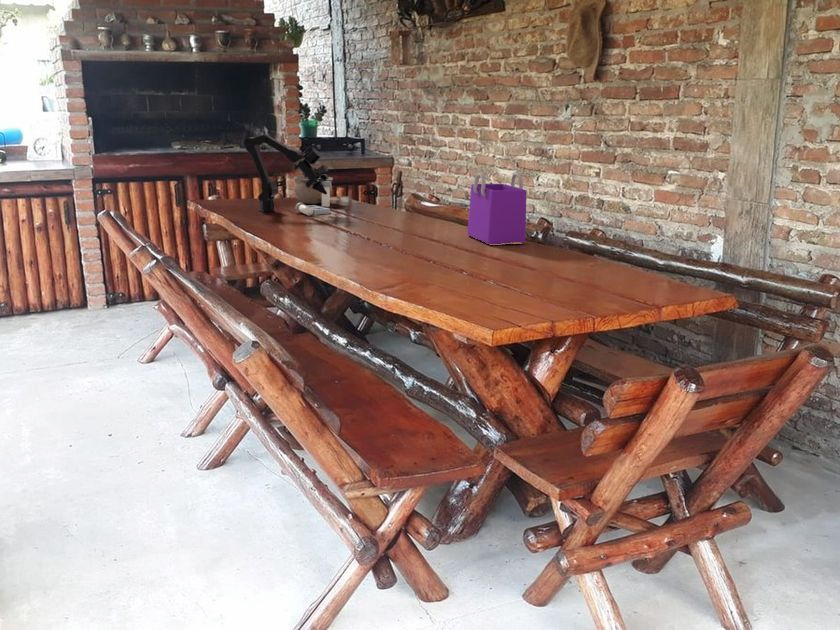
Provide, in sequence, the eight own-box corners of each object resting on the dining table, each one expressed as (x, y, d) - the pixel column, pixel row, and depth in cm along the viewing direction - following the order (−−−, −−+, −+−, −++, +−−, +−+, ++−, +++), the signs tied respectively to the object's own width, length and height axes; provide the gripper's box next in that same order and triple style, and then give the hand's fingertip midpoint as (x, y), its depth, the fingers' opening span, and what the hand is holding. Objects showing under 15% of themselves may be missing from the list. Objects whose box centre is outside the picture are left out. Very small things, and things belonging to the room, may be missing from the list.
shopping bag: (457, 237, 372) (460, 170, 364) (497, 234, 383) (500, 169, 375) (493, 247, 349) (497, 176, 341) (534, 244, 359) (539, 175, 352)
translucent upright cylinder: (324, 207, 421) (324, 182, 417) (318, 205, 424) (318, 181, 421) (332, 206, 424) (332, 181, 421) (327, 205, 428) (327, 180, 424)
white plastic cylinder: (305, 217, 422) (314, 215, 425) (304, 207, 420) (313, 206, 423) (296, 213, 433) (305, 211, 435) (295, 203, 431) (304, 201, 433)
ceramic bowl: (319, 200, 485) (319, 174, 481) (340, 204, 468) (340, 178, 465) (286, 202, 471) (286, 176, 467) (307, 207, 455) (306, 179, 451)
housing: (330, 213, 433) (330, 208, 433) (315, 214, 428) (315, 209, 427) (313, 209, 445) (313, 205, 445) (299, 210, 440) (299, 206, 439)
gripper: (311, 161, 410) (332, 184, 410) (325, 158, 428) (345, 181, 428) (296, 176, 414) (317, 199, 414) (311, 173, 432) (330, 195, 432)
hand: (328, 193), depth 422 cm, fingers closed on translucent upright cylinder, 4 cm apart
